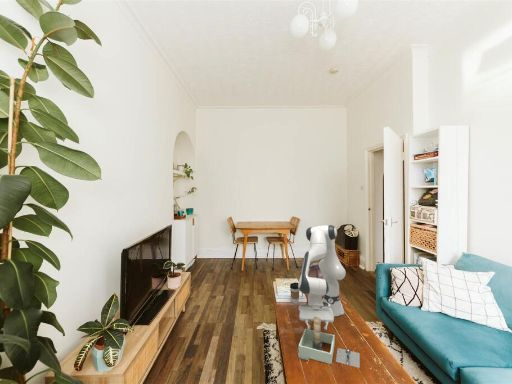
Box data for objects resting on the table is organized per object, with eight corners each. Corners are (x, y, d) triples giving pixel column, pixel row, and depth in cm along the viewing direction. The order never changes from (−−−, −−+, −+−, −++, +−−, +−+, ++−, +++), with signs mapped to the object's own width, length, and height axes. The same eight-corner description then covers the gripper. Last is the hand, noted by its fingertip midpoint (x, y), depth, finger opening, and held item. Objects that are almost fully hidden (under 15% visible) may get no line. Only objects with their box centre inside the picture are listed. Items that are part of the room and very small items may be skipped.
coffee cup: (301, 303, 202) (301, 285, 201) (292, 304, 199) (292, 286, 199) (297, 298, 210) (297, 281, 209) (288, 300, 207) (288, 282, 207)
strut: (313, 346, 147) (313, 315, 146) (322, 348, 145) (322, 317, 144) (312, 351, 142) (312, 319, 141) (320, 354, 140) (320, 321, 139)
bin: (305, 339, 155) (305, 328, 155) (334, 346, 148) (334, 335, 148) (298, 357, 139) (298, 345, 138) (331, 366, 132) (331, 354, 131)
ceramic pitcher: (327, 297, 212) (327, 268, 211) (302, 295, 216) (302, 267, 216) (325, 288, 229) (325, 262, 228) (302, 287, 234) (302, 261, 233)
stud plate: (337, 350, 145) (337, 340, 144) (359, 355, 140) (359, 345, 140) (335, 364, 134) (335, 353, 133) (359, 370, 129) (359, 359, 129)
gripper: (298, 302, 151) (299, 326, 141) (332, 303, 148) (335, 329, 139) (298, 305, 155) (299, 329, 146) (331, 307, 153) (334, 332, 143)
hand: (317, 329), depth 142 cm, fingers open, 8 cm apart
